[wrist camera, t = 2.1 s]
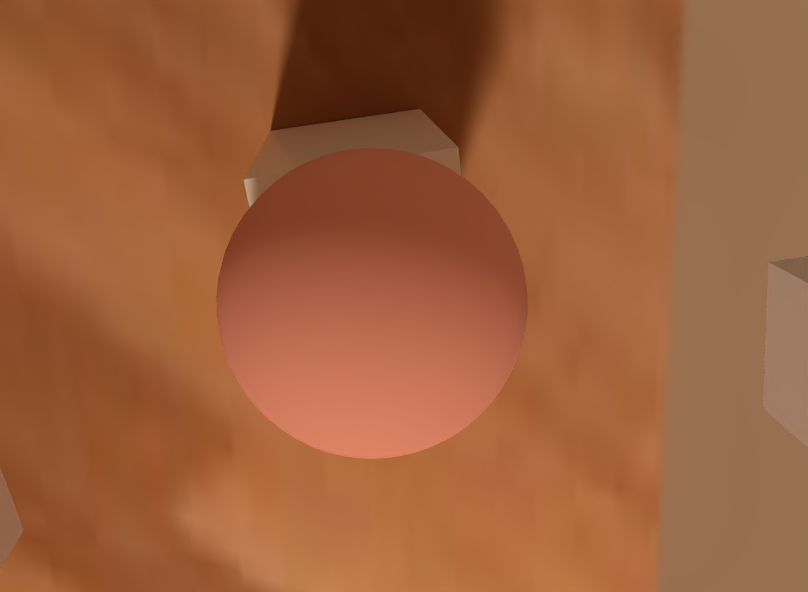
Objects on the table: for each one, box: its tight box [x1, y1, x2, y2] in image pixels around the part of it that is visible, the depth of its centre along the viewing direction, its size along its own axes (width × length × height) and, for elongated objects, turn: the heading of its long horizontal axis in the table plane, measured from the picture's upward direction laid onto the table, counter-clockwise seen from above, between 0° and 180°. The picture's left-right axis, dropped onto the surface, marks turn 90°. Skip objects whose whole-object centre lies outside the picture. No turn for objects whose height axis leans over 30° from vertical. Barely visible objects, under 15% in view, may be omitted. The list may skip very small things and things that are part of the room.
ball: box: [216, 148, 527, 458], centre depth 16 cm, size 6×6×6 cm
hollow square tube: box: [244, 109, 461, 207], centre depth 22 cm, size 5×5×8 cm
